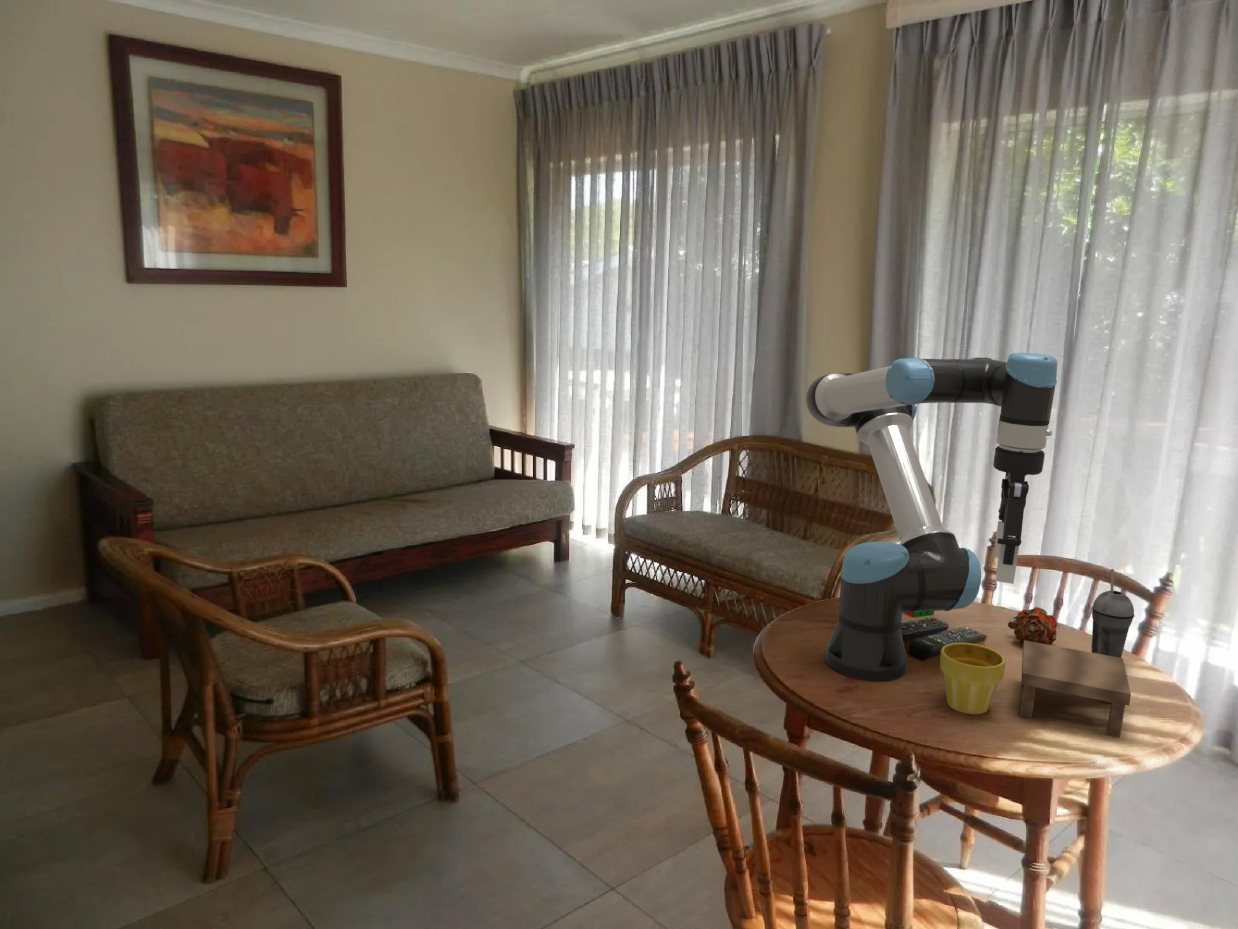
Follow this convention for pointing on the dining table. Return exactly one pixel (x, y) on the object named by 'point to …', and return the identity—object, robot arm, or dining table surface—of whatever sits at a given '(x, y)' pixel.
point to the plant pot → (971, 676)
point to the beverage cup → (1111, 621)
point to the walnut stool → (1075, 678)
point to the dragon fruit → (1034, 626)
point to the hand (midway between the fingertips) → (1002, 569)
